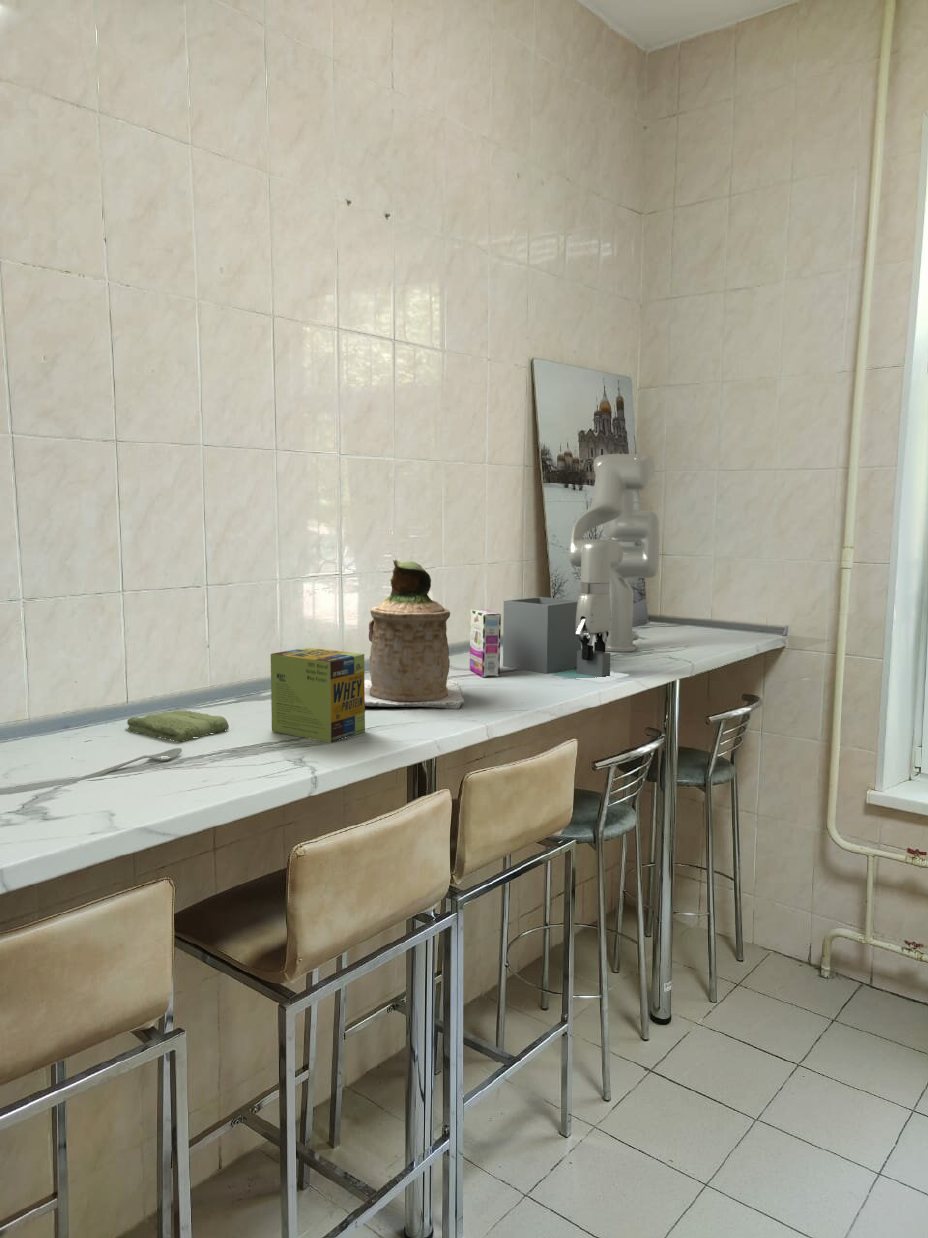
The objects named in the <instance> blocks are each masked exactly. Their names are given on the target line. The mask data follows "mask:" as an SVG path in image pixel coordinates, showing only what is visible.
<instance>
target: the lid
mask: <svg viewBox="0 0 928 1238" xmlns="http://www.w3.org/2000/svg"><path fill="white" fill-rule="evenodd" d="M611 656H612V655H611V652H608V651H605V652H600V651H594V650H593V660H592V661H587V660H582V649H581V650H579V651H577V667H576V668H575V669H574V668H573V669H571V670H570V669H568V670H564V671H561V672H560V671H559V672H554V673H550V674H551V676H555V677H564V678H568V679H573V678H574V679H575V680H577V679H576V678H595V677H596V678H597V677H606V676H610V671H611Z"/></svg>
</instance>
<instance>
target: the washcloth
mask: <svg viewBox="0 0 928 1238" xmlns="http://www.w3.org/2000/svg"><path fill="white" fill-rule="evenodd" d="M126 722H127V723H126V724H127V725H128V727H127V730H128V731H129V730H130V731H129V732H133V731H134V732H133V733H136V732H138V734H141V733H142V735H145V734H146V735H145V736H149V735H151V736H150V737H153V736H155V737H154V738H158V737H161V738H166V739H171V740H174V741H182V742H184V741H183V740H185V741H187V740H186V739H188V740H191V739H190V738H193V737H199V738H200V737H203V736H202V735H205V736H207V735H206V734H209V735H211V734H210V733H215V734H217V733H216V732H219V731H225V730H226V731H229V727H230V726H229V723H228V720H227V719H226V718H225V717H224V716H222V715H211V714H209V713H201V712H196V711H191V710H187V709H186V710H184V709H181V710H173V711H171V710H170V711H162V712H155V713H149V714H148V715H144V716H143V717H137V716H134V717H130V718H128V719H127V721H126ZM226 731H225V732H226ZM219 733H220V732H219ZM161 738H160V739H161ZM166 739H165V740H166ZM193 739H194V738H193ZM174 741H173V742H174Z"/></svg>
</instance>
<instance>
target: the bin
mask: <svg viewBox="0 0 928 1238" xmlns="http://www.w3.org/2000/svg"><path fill="white" fill-rule="evenodd" d="M577 603H578V600H576V599H575V600H574V599H566V598H565V599H564V598H555V597H545V596H535V597H534V596H533V597H525V598H518V599H517V598H516V599H509V600H503V614H502V615H503V618H502V619H503V620H502V622H503V623H502V631H503V632H502V633H503V634H502V667H504V668H505V667H506V668H510V669H511V668H512V669H518V670H523V671H530V672H534V673H540V674H553V673H558V672H560V671H561V672H562V671H567V670H570V669H574V668H575V669H576V668H577V651H579V650H582V645H581V641H580V640H579V638H578V637H577V636H576V629H575V624H576V611H577Z"/></svg>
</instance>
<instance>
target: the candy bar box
mask: <svg viewBox="0 0 928 1238" xmlns="http://www.w3.org/2000/svg"><path fill="white" fill-rule="evenodd" d="M469 611H470V623H469V624H470V625H469V626H470V627H469V629H470V630H469V671H470V672H472V673H474V674H476V675H478V676H479V677H481V678H499V677H500V672H501V671H500V669H501V668H500V667H501V665H500V663H501V628H502V627H501V626H502V625H501V624H502V623H501V621H502V613H501V614H500V613H498V612H495V611H492V610H489V609H470V610H469Z"/></svg>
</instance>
